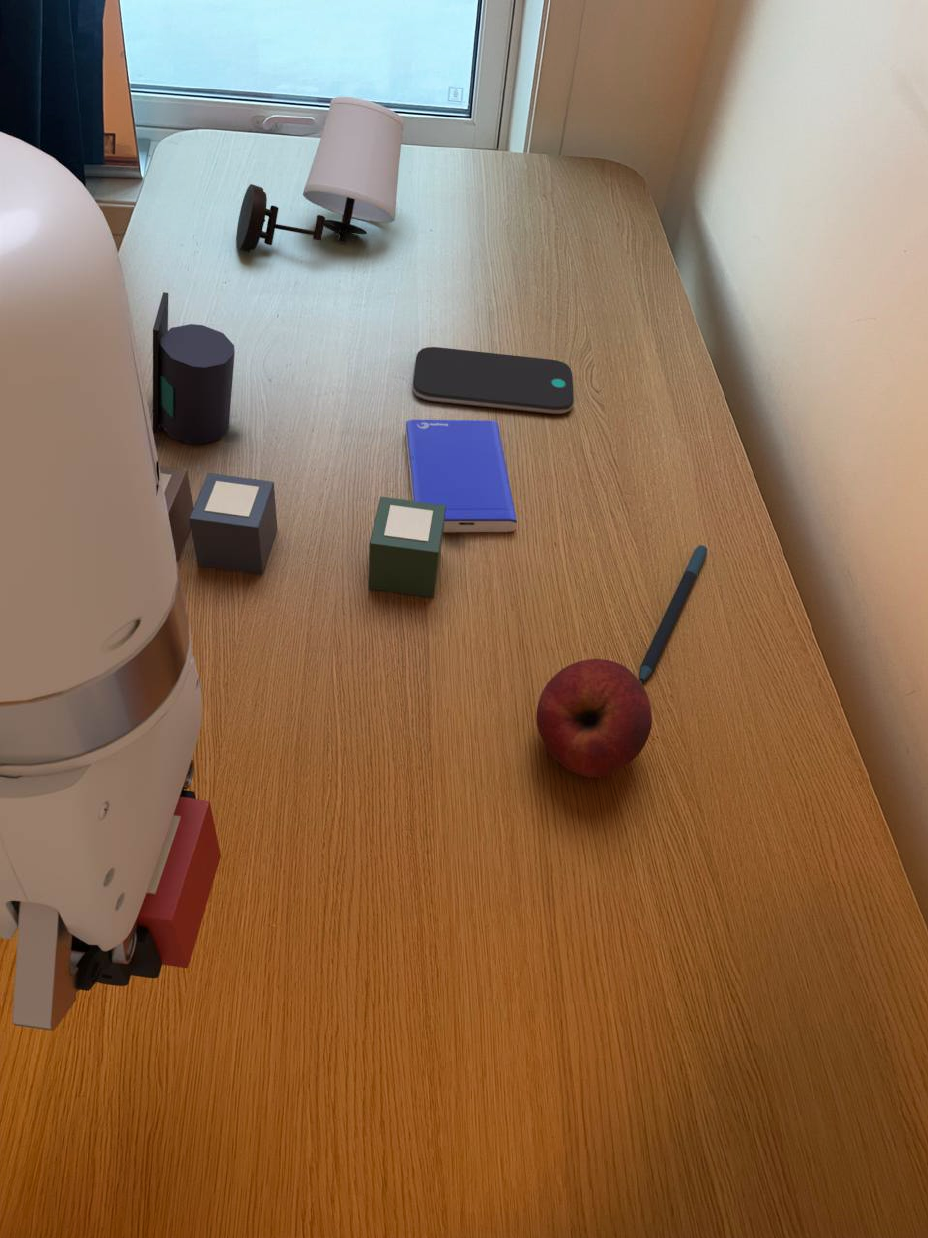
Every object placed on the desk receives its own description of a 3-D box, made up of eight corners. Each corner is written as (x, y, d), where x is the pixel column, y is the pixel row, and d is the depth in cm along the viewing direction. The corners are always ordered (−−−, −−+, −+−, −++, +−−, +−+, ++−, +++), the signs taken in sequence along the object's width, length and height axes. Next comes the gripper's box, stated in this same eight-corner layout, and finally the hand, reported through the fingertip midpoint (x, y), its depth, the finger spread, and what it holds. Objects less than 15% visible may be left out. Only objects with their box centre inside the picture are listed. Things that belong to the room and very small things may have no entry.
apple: (503, 745, 63) (521, 675, 57) (576, 682, 67) (599, 611, 61) (588, 818, 60) (616, 753, 54) (659, 748, 64) (692, 680, 58)
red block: (65, 951, 38) (34, 900, 34) (108, 838, 41) (84, 780, 37) (187, 969, 38) (171, 920, 34) (221, 855, 41) (209, 799, 37)
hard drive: (405, 418, 82) (416, 519, 74) (498, 419, 83) (517, 518, 75) (404, 432, 83) (415, 533, 75) (495, 433, 84) (515, 532, 76)
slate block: (197, 566, 71) (188, 517, 67) (214, 520, 74) (207, 471, 70) (263, 574, 71) (258, 526, 67) (277, 528, 74) (273, 480, 70)
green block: (368, 589, 71) (369, 542, 67) (378, 542, 74) (380, 494, 70) (433, 598, 71) (439, 551, 67) (440, 551, 74) (446, 504, 70)
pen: (631, 685, 68) (635, 675, 67) (694, 550, 77) (698, 540, 76) (645, 691, 68) (649, 681, 67) (706, 555, 77) (710, 545, 76)
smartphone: (574, 409, 86) (411, 392, 85) (573, 417, 86) (411, 400, 86) (572, 360, 91) (417, 343, 90) (570, 368, 91) (417, 351, 91)
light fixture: (393, 289, 100) (428, 120, 97) (248, 245, 93) (281, 61, 90) (363, 292, 109) (394, 137, 106) (229, 252, 102) (258, 85, 99)
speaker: (128, 430, 79) (120, 322, 71) (163, 394, 83) (159, 289, 75) (211, 461, 79) (212, 356, 71) (242, 424, 83) (246, 321, 75)
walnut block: (111, 554, 70) (97, 504, 67) (132, 508, 74) (120, 459, 70) (177, 563, 71) (167, 514, 67) (195, 517, 74) (187, 468, 70)
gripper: (31, 412, 31) (125, 717, 45) (-291, 910, 20) (-34, 1107, 34) (257, 447, 31) (280, 740, 45) (61, 961, 20) (172, 1137, 34)
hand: (144, 896), depth 39 cm, fingers closed on red block, 5 cm apart
